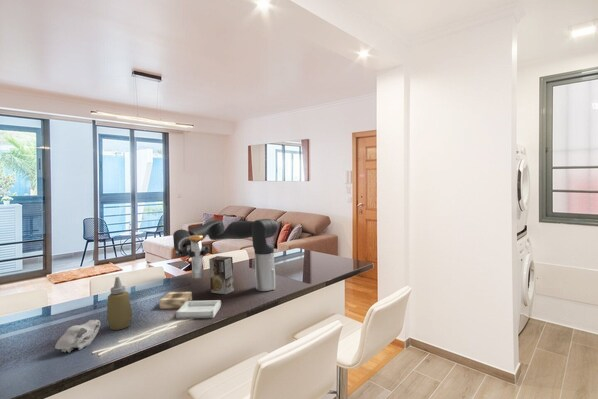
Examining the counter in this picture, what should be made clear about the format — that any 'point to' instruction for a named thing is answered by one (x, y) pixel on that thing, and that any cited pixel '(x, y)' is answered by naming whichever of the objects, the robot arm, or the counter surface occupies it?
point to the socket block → (175, 299)
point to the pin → (196, 255)
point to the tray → (199, 309)
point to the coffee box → (221, 274)
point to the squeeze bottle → (118, 307)
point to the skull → (78, 336)
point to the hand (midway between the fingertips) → (198, 254)
